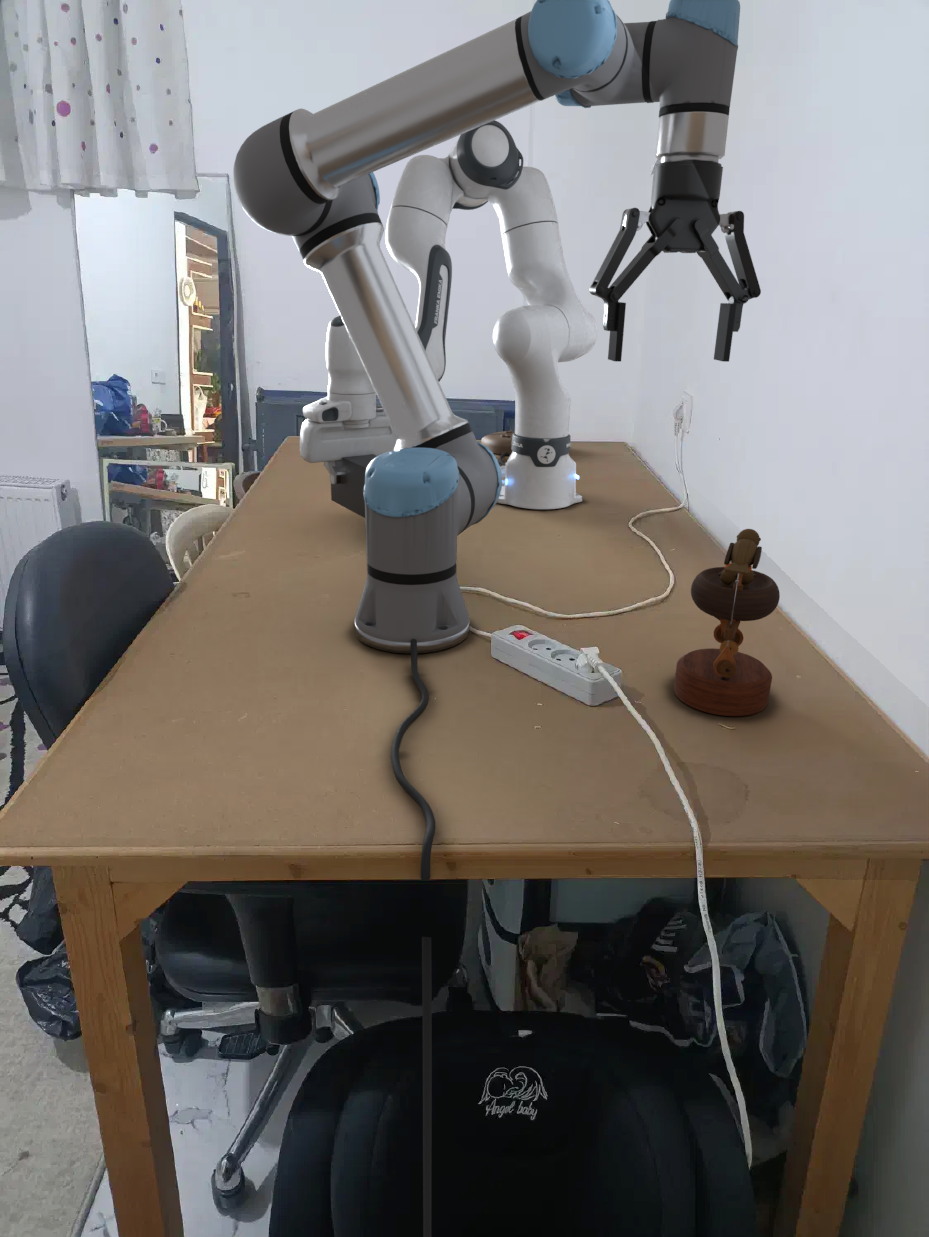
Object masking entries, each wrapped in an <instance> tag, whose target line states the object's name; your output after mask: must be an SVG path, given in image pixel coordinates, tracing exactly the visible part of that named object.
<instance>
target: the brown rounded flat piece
mask: <svg viewBox="0 0 929 1237" xmlns="http://www.w3.org/2000/svg"><path fill="white" fill-rule="evenodd" d="M514 432H515V431H513V430H511V429H510V430H503V431H498V432H492V433H488V434H485V435H484V436H483V437H482V438H481V440H480V441H481V442H480V443H481V444H482V445H485V446H486V447H487V448H489V449H490V450H491V452H492V453H493V454H496V455H502V454H503V453H505V452H508V454H507V455H506V456H510V455H511V453H512V449H511V447H512V443H511V442H512V437H513V433H514Z"/></svg>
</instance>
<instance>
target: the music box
mask: <svg viewBox="0 0 929 1237" xmlns="http://www.w3.org/2000/svg"><path fill="white" fill-rule="evenodd" d="M761 541H762V538H761V537H760V535H759V532H757V531H756V530H755V529H753V528H745V529H742V530H741V531H740V532H738V534H736V542H730V543H729V545H728V548H727V550H726V553H725V556H724V561H723V564H724V565H725V566H716V567H709V568H705V569H704V570H702V571H701V572H699V573H698V574H697V575H696V576H695V578H694V579H693V581H692V584H691V587H690V595H691V599H692V601H693V603H694V604H695V606H696V607H697V608H699V610H700V611H702V612H703V613H704V614H707V615H709V616H712V617H713V618H715V619H717V620H718V621H719V622H720V624H717V625H716V626H715V627H714V629H713V638H714V640H715V641H716V642H717V643H720V645H719V648H700V649H696V650H692V651H690V652H688V653H686V654H684V655H683V656H681V657H679V659H678V660H677V661H676V666H675V667H676V668H675V673H674V674H675V676H674V684H673V691H674V694H675V696H676V697H677V698H678V699H679V700H680V701H681V702H682V703H684V704H685V705H687V706H689V707H691V708H693V709H695V710H699V711H701V712H704V713H708V714H713V715H717V716H726V717H744V716H749V715H754V714H757V713H760V712H762V711H763V710H765V709H766V707H767V706H768V704H769V697H770V693H771V687H772V680H773V674H772V672H771V670H770V669H769V668H768V667H767V666H766V665H765V664H764V662H762V661H761V660H760V659H757V658H756V657H754V656H752V655H750V654H746V653H744V652H740V651H739V650H740V649H739V647H740V646H741V644H743V642H744V634H743V632H742V631H741V629H740V628H739V627H740V624H741V622H752V621H753V622H754V621H759V620H762V619H764V618H766V617H768V616H769V615H771V614H772V613H773V612H774V611H775V610H776V609H777V607H778V605H779V602H780V596H781V592H780V589H779V587H778V584H777V583H776V582H775V580H774V579H773V578H772V577H771V576H769V575H767V574H765V573H763V572H760V571H757V570H756V569H757V568H758V566H759V564H760V560H761V557H762V550H763V547H762V546H761V545H760V542H761ZM759 545H760V546H759Z"/></svg>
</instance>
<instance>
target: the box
mask: <svg viewBox="0 0 929 1237" xmlns="http://www.w3.org/2000/svg"><path fill="white" fill-rule="evenodd" d="M376 457H377V456H376V455H374V454H371V455H361V456H352V457H342V460H336V461H335V466H332V467H333V469H334V471H335V472H336V473H338V474H340V475H341V479H340V480H341V483H340V484H332V483H331V482H330V496H331V501H332V502H334V503H336V504H338V505H339V506H341V507H343V508H345V509H346V510H349V511H351V512H352V513H354V514H356V515H358V516H360V517H361V518H363V519H365V500H364V495H363V489H364V485H365V472H366V468H367V466H368V464H369V463H370V462H371V461H372V460H373V459H374V458H376Z"/></svg>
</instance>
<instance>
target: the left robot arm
mask: <svg viewBox="0 0 929 1237" xmlns="http://www.w3.org/2000/svg"><path fill="white" fill-rule="evenodd" d="M740 15H741V3H740V1H739V0H669V3H668V9H667V12H666V13H665V18H662V19H658V20H651V21H640V22H624V21H623V20H622V19H621V18H620V17H619V16H618V14H617V13H616V12H615V10H614V9H613V6H612V4H611V2H610V0H536V1H535V2H534V4H533V6H532V8H531V10H530V11H528V12H526V13H524V14H523V15H521V16H519V17H517V18H516V19H515V18H514V19H513V20H511V21H508V22H506V23H504V24H502V25H501V26H499V27H495V28H494V29H491V30H489V31H487V32H486V33H483V34H481V35H478V36H477V37H474V38H472V39H470V40H467V41H465V42H463V43H462V44H460V45H457V46H455V47H453V48H451V49H449V50H447V51H445V52H443V53H440V54H438V55H436V56H434V57H432V58H430V59H428V60H425V61H423V62H421V63H419V64H417V65H414V66H412V67H411V68H409V69H406V70H404V71H402V72H400V73H398V74H396V75H393V76H391V77H389V78H387V79H385V80H382V81H381V82H378V83H376V84H375V85H371V86H370V87H368V88H366V89H363V90H361V91H359V92H357V93H355V94H353V95H351V96H349V97H347V98H345V99H342V100H340V101H338V102H335V103H334V104H331V105H329V106H327V107H324V108H323V109H321V110H319V111H317V112H315V113H313V112H311V111H309V110H307V109H305V108H298V109H295V110H293V111H291V112H289V113H287V114H285V115H283V116H281V117H278V118H276V119H275V120H271V121H270V122H268V123H266V124H264V125H263V126H260V127H259V128H257V129H256V130H255V131H253V132H252V133H251V134H250V135H249V136H248V137H246V139H245V140H244V141H243V142H242V144H241V146H240V147H239V149H238V151H237V153H236V155H235V160H234V162H233V171H232V178H233V179H232V182H233V186H234V191H235V195H236V197H237V200H238V202H239V204H240V206H241V207H242V209H243V211H244V213H245V214H246V216H248V217H249V219H250V220H251V221H253V222H254V223H255V224H256V225H257V226H259V227H260V228H262V229H264V230H265V231H268V232H270V233H272V234H275V235H280V236H287V237H288V236H289V237H292V240H293V242H294V244H295V246H296V248H297V250H298V253H299V255H300V257H301V259H302V261H303V263H304V266H306V268H309V269H311V270H313V271H316V272H319V273H320V274H321V276H322V279H323V280H324V283H325V285H326V287H327V289H328V292H329V294H330V296H331V298H332V300H333V303H334V305H335V307H336V309H337V311H338V313H339V316H341V318H342V320H343V322H344V324H345V327H346V329H347V331H348V333H349V335H350V338H351V340H352V342H353V344H354V346H355V349H356V351H357V353H358V355H359V357H360V360H361V362H362V364H363V366H364V368H365V371H366V373H367V375H368V377H369V379H370V382H371V384H372V386H373V388H374V390H375V393H376V398H377V399H378V401H379V404H380V405H381V406H382V408H383V410H384V412H385V415H386V417H387V419H388V421H389V423H390V426H391V428H392V430H393V432H394V434H395V437H396V444H395V448H394V451H389V452H386V453H384V454H381V455H379V456H377V457H376V458H374V459H373V460H372V461H371V462H370V463H369V464H368V466H367V468H366V472H365V485H364V489H363V495H364V500H365V518H364V520H365V550H366V579H365V584H364V586H363V589H362V592H361V596H360V600H359V602H358V606H357V609H356V612H355V618H354V633H355V636H356V638H357V639H358V640H359V641H360V642H362V643H363V644H365V645H367V646H368V647H371V648H374V649H377V650H380V651H384V652H390V653H396V654H397V653H398V654H410V669H411V670H410V671H411V676H412V679H413V681H414V683H415V685H416V687H417V688H418V689H419V691H420V695H421V700H420V702H419V704H418V706H417V707H416V708H415V709H414V710H413V711H412V712H411V713H410V714H409V715H408V716H407V717H406V718H405V719H404V720H403V721H401V723H400V725H399V727H397V730H396V731H395V734H394V737H393V741H392V744H391V751H390V762H391V768H392V772H393V774H394V777H395V779H396V781H397V782H398V784H399V785H400V786H401V788H402V789H403V790H404V792H406V793H407V795H408V796H409V797H411V799H412V800H413V801H414V802H415V803H416V804H417V805H418V806H419V808H420V809H421V811H422V813H423V816H424V819H425V825H426V828H425V833H424V837H423V840H422V848H421V855H420V857H421V858H420V880H422V881H424V882H426V881H429V880H430V879H431V858H432V857H431V855H432V848H433V843H434V838H435V834H436V820H435V819H436V818H435V815H434V812H433V810H432V808H431V806H430V805H429V803H428V802H427V800H426V799H425V797H424V796H423V795H422V794H421V793H420V792H419V791H418V790H417V789H416V788H415V786H413V785H412V784H411V782H409V781H408V779H406V776H405V775H404V772H403V770H402V766H401V762H400V761H401V760H400V747H401V744H402V739H403V737H404V735H405V733H406V731H407V729H408V728H409V727H410V726H411V724H413V723H414V722H415V721H416V720H417V719H418V718H419V717H420V716H421V715H422V714H423V713H424V711H425V710H426V708H427V706H428V704H429V695H430V694H429V691H428V688H427V687H426V685H425V684H424V681H423V680H422V679H421V675H420V673H419V669H418V667H419V666H418V664H419V663H418V654H425V653H433V652H439V651H443V650H446V649H449V648H452V647H455V646H457V645H458V644H460V643H462V642H463V641H464V640H466V639H467V637H468V636H469V634H470V616H469V612H468V608H467V606H466V601H465V599H464V596H463V593H462V589H461V586H460V583H459V581H458V577H457V561H458V560H457V559H458V558H457V557H458V556H457V554H458V536H459V535H461V534H462V533H463V532H465V531H466V530H467V529H469V528H470V527H472V526H474V525H476V524H479V523H480V522H481V521H482V520H484V519H485V518H486V517H487V516H488V515H489V513H490V512H491V510H492V509H493V508H494V507H495V506H496V504H497V503H496V502H497V500H498V498H499V496H500V492H501V488H502V480H503V477H502V473H501V468H500V466H501V464H500V462H499V460H498V458H497V457H496V455H495V453H492V452H491V450H490V449H489V448H487V447H486V446H485V445H482V444H481V442H480V441H478V440H477V439H476V436H475V434H474V431H473V428H472V427H471V425H470V423H469V421H468V419H465V418H462V417H460V416H457V415H455V414H454V413H453V411H452V408H451V406H450V404H449V402H448V399H447V397H446V395H445V393H444V390H443V388H442V386H441V383H440V382H439V381H438V379H437V376H436V374H435V372H434V370H433V367H432V365H431V363H430V361H429V358H428V356H427V354H426V351H425V349H424V347H423V345H422V342H421V340H420V338H419V335H418V333H417V331H416V329H415V327H416V325H415V324H414V321H413V319H412V317H411V315H410V312H409V311H408V308H407V306H406V304H405V301H404V299H403V296H402V295H401V292H400V289H399V288H398V286H397V282H396V280H395V278H394V276H393V274H392V272H391V269H390V267H389V264H388V263H387V260H386V257H385V256H384V253H383V250H382V249H381V241H382V237H383V235H384V233H385V227H384V224H383V222H382V219H381V217H380V215H379V205H380V201H381V195H380V194H381V193H380V188H379V184H378V180H377V178H376V175H375V173H374V172H377V171H380V170H381V169H383V168H386V167H388V166H390V165H393V164H396V163H398V162H400V161H402V160H404V159H407V158H409V157H411V156H414V155H417V154H419V153H421V152H423V151H426V150H428V149H430V148H433V147H435V146H438V145H440V144H442V143H445V142H447V141H449V140H451V139H454V138H456V137H460V135H461V134H463V133H466V132H468V131H470V130H473V129H475V128H477V127H480V126H482V125H484V124H487V123H489V122H491V121H494V120H495V121H497V120H498V119H501V118H503V117H506V116H508V115H510V114H513V113H515V112H517V111H519V110H522V109H524V108H526V107H529V106H531V105H533V104H536V103H538V102H540V101H541V102H542V101H545V100H546V99H549V98H551V97H554V98H555V100H556V102H557V103H558V104H559V105H561V106H563V107H582V108H584V109H590V108H591V107H599V106H600V107H601V106H614V105H629V104H642V103H643V104H644V103H645V104H653V103H659V111H658V120H657V121H658V122H657V132H656V145H655V155H654V157H655V158H656V159H657V160H659V163H656V165H655V167H654V168H653V174H652V187H651V197H650V198H651V199H650V200H651V201H650V202H651V203H650V206H649V210H648V211H644V210H640V208H637V207H631V208H627V209H624V210H623V212H622V214H621V220H620V227H619V231H618V233H617V234H616V236H615V239H614V240H613V242H612V244H611V246H610V247H609V250H608V252H607V254H606V255H605V258H604V259H603V261H602V264H601V265H600V268H599V269H598V271H597V272H596V274H595V277H594V279H593V281H592V283H591V285H590V287H589V293H590V294H591V295H592V296H595V297H597V298H600V299H601V300H602V301H603V303H604V304H603V317H602V318H603V319H602V328H603V330H604V331H606V332H609V340H608V352H607V354H608V355H607V360H608V361H612V362H622V355H623V342H624V333H625V321H626V320H625V317H626V307H627V302H623V301H621V302H620V300H621V298H622V297H623V296H624V295H625V294H626V293H627V291H628V290H629V289H630V288H631V286H632V285H633V284H634V283H635V282H636V281H637V279H639V277H640V276H641V274H642V273H644V272H645V270H646V269H647V268H648V266H649V265H650V264H651V263H652V261H654V259H655V258H656V257H657V256H659V255H660V254H661V253H662V252H663V254H672V253H673V254H675V253H681V254H697V255H698V257H700V258H701V260H702V261H703V262H704V264H705V266H706V268H707V269H708V271H709V272H710V274H711V276H712V277H713V279H714V280H715V282H716V284H717V285H718V287H719V288H720V290H721V292H722V294H723V296H724V297H725V298H726V300H727V301H728V303H727V302H721V303H720V305H719V311H718V312H719V313H718V321H717V329H716V336H715V346H714V354H713V360H715V361H719V362H726V363H727V362H730V357H731V351H732V343H733V336H734V335H733V334H734V333H738V332H739V331H740V329H741V322H742V316H743V307H744V305H745V304H746V303H748V301H750V300H751V299H755V298H758V297H760V295H761V294H762V289H761V286H760V284H759V280H758V276H757V273H756V270H755V266H754V262H753V259H752V255H751V251H750V248H749V246H748V242H747V238H746V235H745V213H744V212H743V211H742V210H735V211H729V212H727V213H720V210H719V201H720V197H721V190H722V180H723V172H724V167H723V166H722V164H721V163H719V160H721V159H723V158H724V157H725V156H726V148H727V138H728V129H729V128H728V127H729V118H730V111H731V110H730V108H731V102H732V94H733V86H734V79H735V78H734V76H735V71H736V64H737V55H738V51H739V50H738V49H739V30H740V18H741V17H740ZM644 224H646V226H647V228H648V231H649V233H650V234H651V235H650V237H649V238H648V239H647V240H646V241H645V242H644V243H643V245H642V246H641V248H640V250H639V251H638V253H637V254H636V255H635V256H634V258H632V259H631V261H629V263H628V264H627V265H626V267H625V268H624V269H623V270H622V271H621V273H619V275H618V276H617V278H615V280H614V281H613V282H612V280H613V279H614V277H615V275H616V273H617V271H618V270H619V267H620V265H621V263H622V261H623V259H624V257H626V254H627V252H628V250H629V248H630V247H631V245H632V242H633V240H634V238H635V236H636V234H637V231H640V230H641V229H642V228H643V226H644ZM718 227H720V231H721V233H723V234H724V238H725V242H726V245H727V250H728V252H729V255H730V259H731V262H732V265H733V269H734V272H735V275H736V277H735V275H734V274H733V272H732V270H731V269H730V267H729V265H728V264H727V262H726V260H725V259H724V257H723V255H722V254H721V252H720V247H719V245H718V243H717V241H716V240H715V238H714V237H713V234H714V232H715V231H716V230H717V228H718ZM611 282H612V283H611ZM610 284H611V285H610ZM421 968H422V969H421V987H422V988H421V990H422V993H421V994H422V995H421V996H422V998H421V999H422V1000H421V1002H422V1003H421V1004H422V1010H421V1011H422V1197H423V1198H422V1199H423V1200H422V1208H423V1209H422V1210H423V1212H422V1213H423V1214H422V1216H423V1220H422V1223H423V1225H422V1227H423V1228H422V1229H423V1231H422V1232H423V1234H422V1235H423V1237H432V1144H433V1143H432V1130H433V1129H432V1127H433V1126H432V1125H433V1124H432V1122H433V1121H432V1120H433V1118H432V1116H433V1115H432V1114H433V1113H432V1111H433V1105H432V1104H433V1102H432V1101H433V1098H432V1096H433V1094H432V1091H433V1088H432V1087H433V1085H432V1084H433V1082H432V1080H433V1078H432V1077H433V1075H432V1072H433V1071H432V1070H433V1069H432V1068H433V1061H432V1060H433V1054H432V1053H433V1052H432V1051H433V1050H432V1049H433V1045H432V1044H433V1042H432V1041H433V1038H432V1037H433V1036H432V1035H433V1034H432V1030H433V1029H432V1028H433V1026H432V1025H433V1024H432V1022H433V1019H432V1015H433V1014H432V1012H433V1011H432V1010H433V1009H432V1008H433V1006H432V1005H433V1004H432V1001H433V1000H432V999H433V998H432V996H433V995H432V994H433V992H432V937H430V936H421Z"/></svg>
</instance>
